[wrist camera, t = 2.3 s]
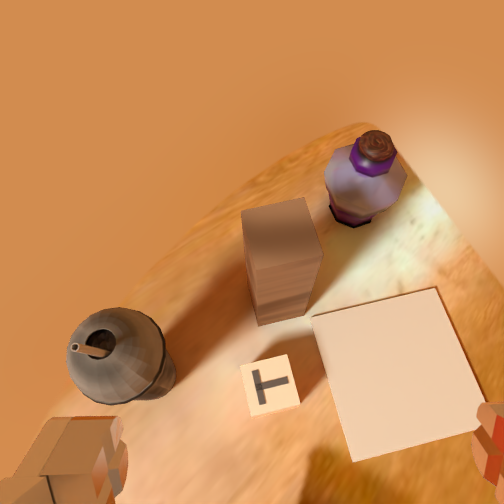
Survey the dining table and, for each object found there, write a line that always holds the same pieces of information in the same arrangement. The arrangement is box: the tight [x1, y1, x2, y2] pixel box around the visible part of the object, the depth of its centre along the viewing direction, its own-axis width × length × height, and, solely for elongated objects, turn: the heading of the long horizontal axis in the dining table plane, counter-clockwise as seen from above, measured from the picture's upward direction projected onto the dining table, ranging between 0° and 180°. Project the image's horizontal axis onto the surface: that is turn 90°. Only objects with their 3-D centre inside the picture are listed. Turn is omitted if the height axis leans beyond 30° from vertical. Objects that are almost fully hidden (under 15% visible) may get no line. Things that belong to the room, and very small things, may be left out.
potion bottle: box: [324, 130, 407, 228], centre depth 45 cm, size 9×9×12 cm
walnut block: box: [241, 197, 323, 326], centre depth 38 cm, size 5×5×16 cm
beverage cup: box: [66, 307, 176, 405], centre depth 33 cm, size 7×7×20 cm
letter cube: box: [240, 354, 300, 419], centre depth 40 cm, size 4×4×5 cm
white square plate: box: [310, 288, 485, 462], centre depth 42 cm, size 14×14×1 cm
